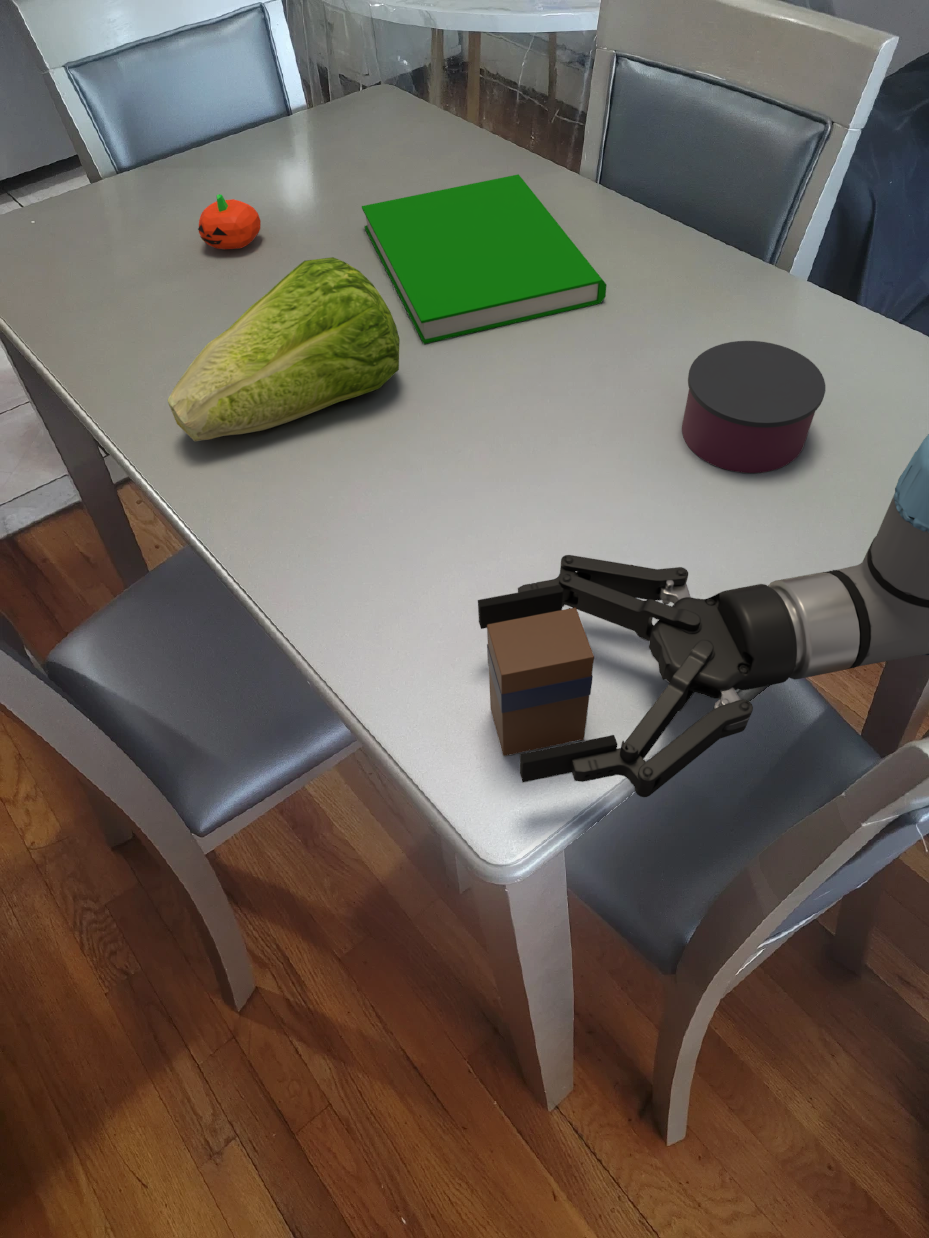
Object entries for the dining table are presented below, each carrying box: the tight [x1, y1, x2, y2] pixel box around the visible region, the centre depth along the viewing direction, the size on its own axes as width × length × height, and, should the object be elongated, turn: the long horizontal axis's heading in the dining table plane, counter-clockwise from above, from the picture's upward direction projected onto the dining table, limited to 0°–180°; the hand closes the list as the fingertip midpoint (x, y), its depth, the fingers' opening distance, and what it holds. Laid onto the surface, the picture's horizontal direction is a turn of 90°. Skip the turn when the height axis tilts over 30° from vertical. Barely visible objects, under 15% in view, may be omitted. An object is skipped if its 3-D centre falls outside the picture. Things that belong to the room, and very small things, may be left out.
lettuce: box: [167, 256, 400, 442], centre depth 89 cm, size 14×24×14 cm
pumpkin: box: [197, 193, 262, 250], centre depth 112 cm, size 7×8×6 cm
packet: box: [486, 607, 595, 757], centre depth 63 cm, size 6×4×11 cm
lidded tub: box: [681, 340, 826, 474], centre depth 85 cm, size 13×13×6 cm
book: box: [361, 173, 607, 345], centre depth 108 cm, size 22×28×3 cm
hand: (498, 686), depth 63 cm, fingers open, 13 cm apart
